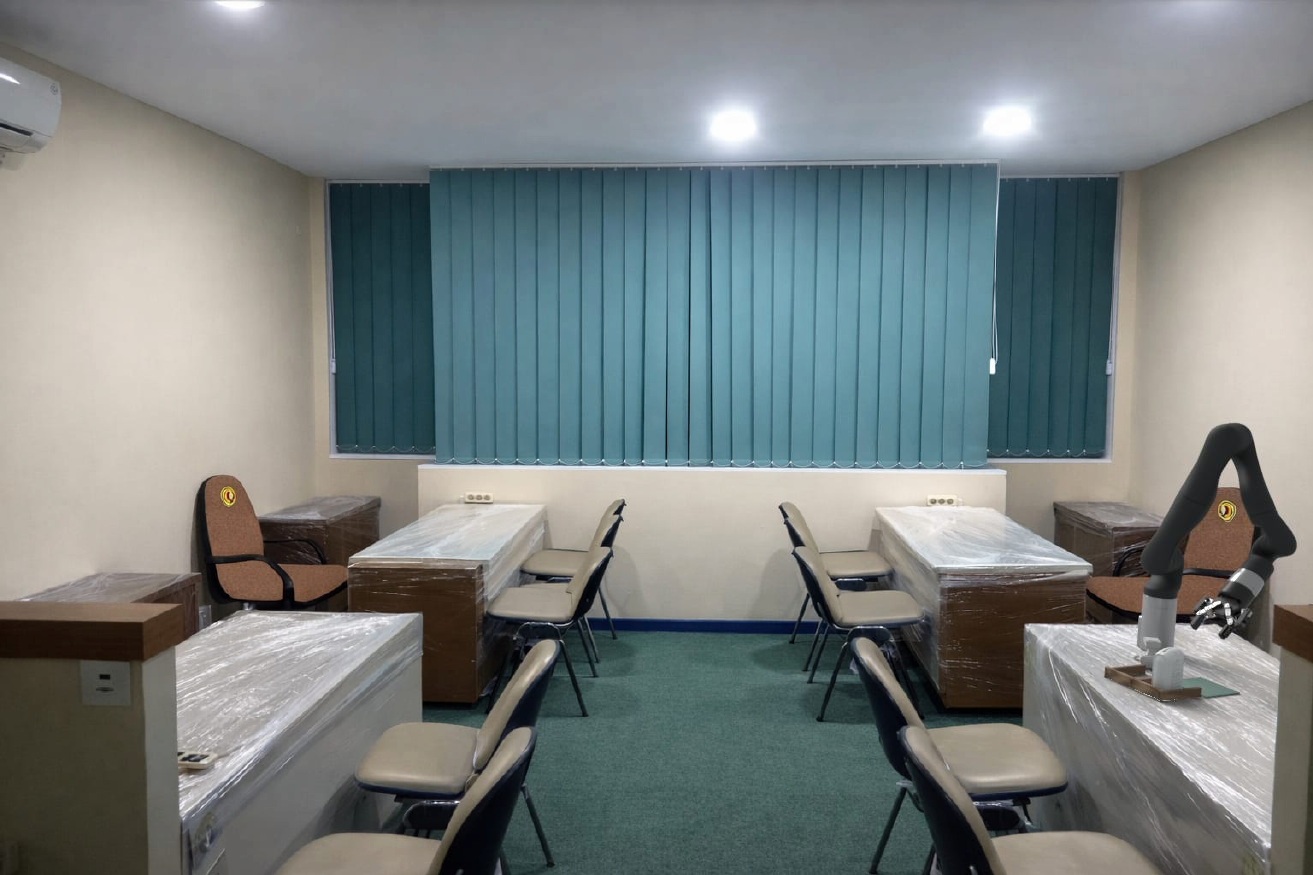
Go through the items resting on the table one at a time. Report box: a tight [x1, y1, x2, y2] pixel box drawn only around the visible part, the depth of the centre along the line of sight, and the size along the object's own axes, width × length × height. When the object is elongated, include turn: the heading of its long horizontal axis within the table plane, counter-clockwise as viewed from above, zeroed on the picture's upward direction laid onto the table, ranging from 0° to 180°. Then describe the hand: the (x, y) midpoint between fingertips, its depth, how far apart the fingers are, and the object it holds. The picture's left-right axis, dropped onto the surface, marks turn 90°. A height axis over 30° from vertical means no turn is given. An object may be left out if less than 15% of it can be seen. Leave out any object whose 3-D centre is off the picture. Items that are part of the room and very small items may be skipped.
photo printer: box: [1151, 646, 1185, 691], centre depth 240 cm, size 10×4×12 cm, turn 123°
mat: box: [1182, 676, 1241, 699], centre depth 244 cm, size 12×12×1 cm
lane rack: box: [1104, 663, 1202, 701], centre depth 244 cm, size 19×14×3 cm
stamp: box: [1133, 637, 1161, 670], centre depth 260 cm, size 9×7×8 cm
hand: (1206, 632), depth 242 cm, fingers open, 8 cm apart
